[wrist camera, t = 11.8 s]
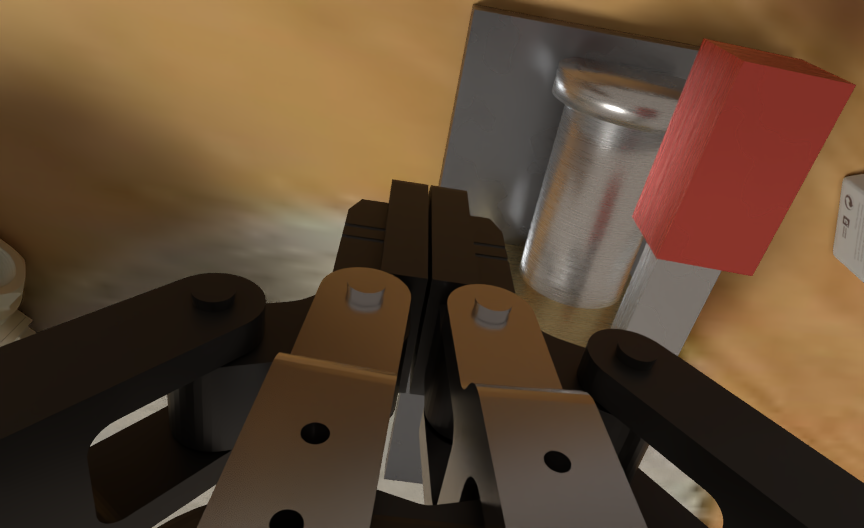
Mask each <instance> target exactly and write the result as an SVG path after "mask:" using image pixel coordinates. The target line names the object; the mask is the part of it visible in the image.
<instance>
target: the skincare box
mask: <svg viewBox="0 0 864 528" xmlns="http://www.w3.org/2000/svg"><path fill="white" fill-rule="evenodd" d="M833 255H834V256H835V257H836V258H837V259H838V260H839V261H840V262H841V263H843V264H844V265H845V266H846V267H847V268H848V269H849V270H850V271H851V272H852V273H854V274H855V275H856V276H857V277H858V278H859V279H860V280H861V281H862V282H863V283H864V174H859V175H854V176H848V177H845V178H844V179H843V182H842V189H841V196H840V203H839V212H838V219H837V227H836V233H835V240H834V246H833Z"/></svg>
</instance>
